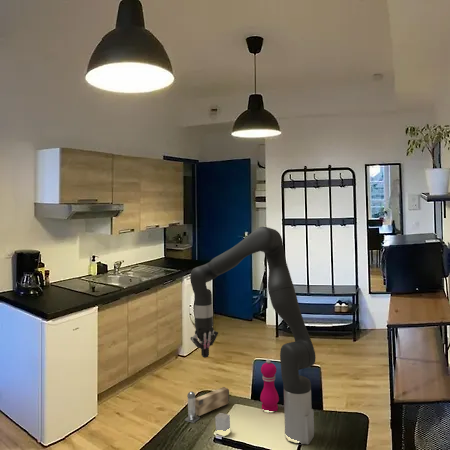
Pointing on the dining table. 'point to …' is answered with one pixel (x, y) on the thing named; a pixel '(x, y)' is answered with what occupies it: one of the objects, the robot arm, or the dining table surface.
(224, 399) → the gate
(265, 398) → the pepper mill
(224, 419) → the grey block
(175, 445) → the dining table surface
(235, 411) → the dining table surface
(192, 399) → the hinge post
